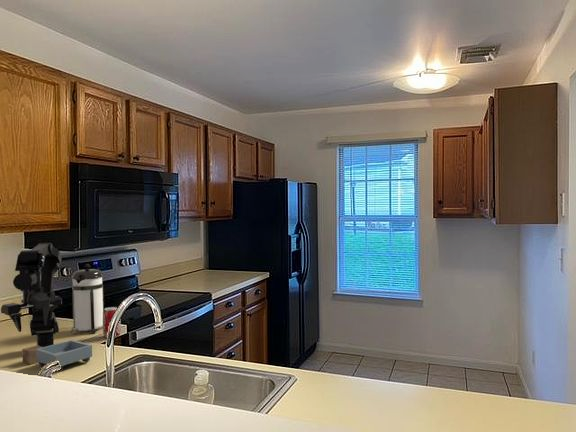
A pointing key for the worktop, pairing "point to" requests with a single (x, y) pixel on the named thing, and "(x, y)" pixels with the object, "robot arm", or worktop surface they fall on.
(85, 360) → the cart
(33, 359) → the walnut block
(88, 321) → the coffee press
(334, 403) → the worktop surface
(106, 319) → the soda can
